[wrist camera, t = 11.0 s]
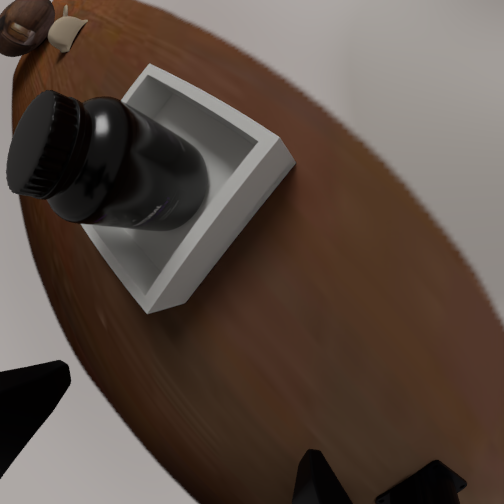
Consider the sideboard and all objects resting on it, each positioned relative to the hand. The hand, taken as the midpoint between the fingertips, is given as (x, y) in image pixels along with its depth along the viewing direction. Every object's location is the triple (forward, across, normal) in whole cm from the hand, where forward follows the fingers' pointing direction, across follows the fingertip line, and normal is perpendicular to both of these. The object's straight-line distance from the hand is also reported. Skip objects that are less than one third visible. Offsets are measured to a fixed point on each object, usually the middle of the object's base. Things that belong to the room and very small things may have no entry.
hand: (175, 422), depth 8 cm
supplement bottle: (+13, +7, -6) cm, 16 cm away
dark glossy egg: (+30, +56, -34) cm, 73 cm away
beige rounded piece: (+25, +38, -29) cm, 54 cm away
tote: (+14, +7, -7) cm, 17 cm away
